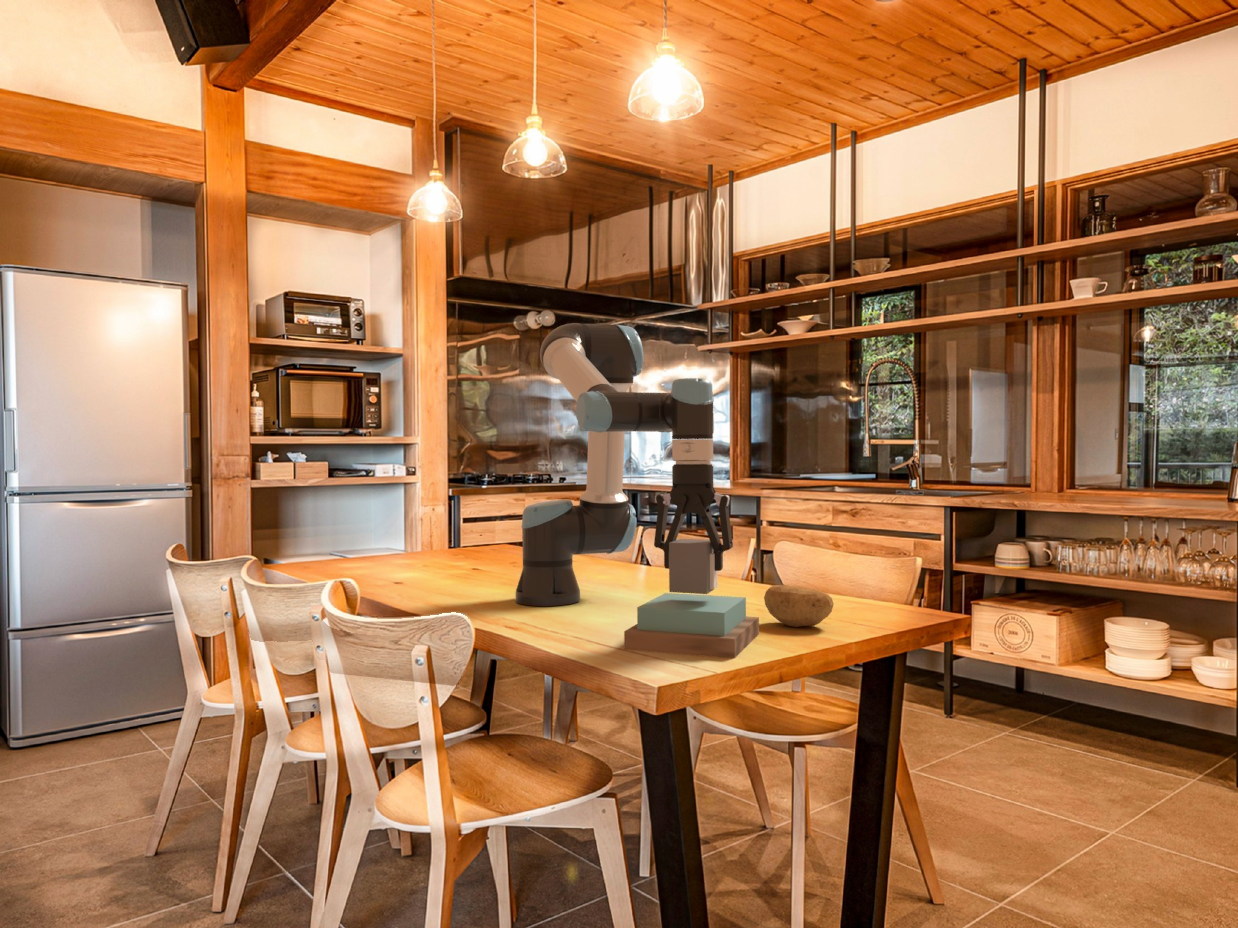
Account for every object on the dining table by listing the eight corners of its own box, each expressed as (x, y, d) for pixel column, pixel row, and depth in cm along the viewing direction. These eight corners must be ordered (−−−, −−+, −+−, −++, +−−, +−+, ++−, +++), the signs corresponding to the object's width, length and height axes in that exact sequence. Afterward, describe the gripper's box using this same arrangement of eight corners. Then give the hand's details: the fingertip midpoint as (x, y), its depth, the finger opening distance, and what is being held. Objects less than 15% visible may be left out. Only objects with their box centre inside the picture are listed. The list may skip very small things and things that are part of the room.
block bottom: (659, 631, 174) (659, 611, 174) (758, 637, 167) (758, 617, 167) (624, 653, 156) (624, 631, 155) (734, 662, 148) (734, 638, 148)
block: (680, 586, 166) (680, 538, 165) (716, 587, 163) (716, 539, 163) (669, 591, 159) (669, 542, 159) (706, 594, 157) (706, 543, 156)
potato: (821, 634, 166) (821, 592, 166) (755, 626, 175) (755, 586, 175) (842, 626, 174) (842, 586, 174) (778, 618, 182) (778, 580, 182)
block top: (665, 613, 172) (665, 592, 171) (745, 618, 166) (745, 597, 166) (637, 629, 157) (637, 607, 157) (724, 635, 151) (724, 612, 151)
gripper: (634, 463, 161) (635, 587, 161) (741, 463, 154) (742, 593, 154) (648, 462, 168) (648, 581, 168) (750, 462, 161) (751, 586, 161)
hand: (693, 587), depth 161 cm, fingers closed on block, 7 cm apart
